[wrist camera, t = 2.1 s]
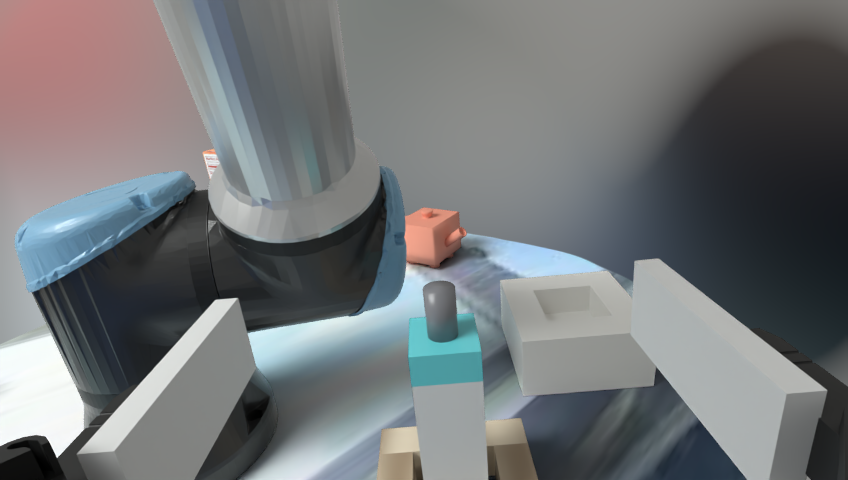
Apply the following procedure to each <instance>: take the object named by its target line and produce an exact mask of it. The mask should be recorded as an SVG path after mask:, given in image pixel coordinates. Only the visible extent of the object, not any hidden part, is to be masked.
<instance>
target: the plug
mask: <svg viewBox="0 0 848 480" xmlns="http://www.w3.org/2000/svg"><path fill="white" fill-rule="evenodd" d="M423 296H424V306H425V315H426V317H421V318H410V319H409V345H408V361H409V369H410V377H411V385H412V393H413V401H414V409H415V417H416V425H417V433H418V441H419V449H420V457H421V465H422V473H423V480H488V463H487V445H486V426H485V408H484V389H483V370H482V352H481V347H480V342H479V337H478V332H477V328H476V323H475V318H474V313H469V314H457V308H456V295H455V286H454V284H452V283H451V282H448V281H434V282H431V283H428V284H426V285H425V286H424V287H423Z"/></svg>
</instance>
